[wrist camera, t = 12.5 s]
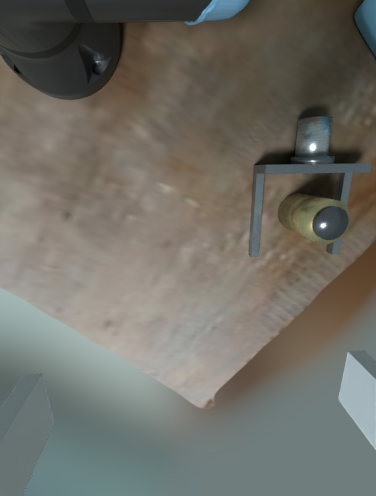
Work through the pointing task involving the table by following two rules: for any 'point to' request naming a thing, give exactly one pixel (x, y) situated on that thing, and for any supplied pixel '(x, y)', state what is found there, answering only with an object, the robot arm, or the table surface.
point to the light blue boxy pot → (367, 22)
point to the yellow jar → (315, 217)
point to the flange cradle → (305, 161)
